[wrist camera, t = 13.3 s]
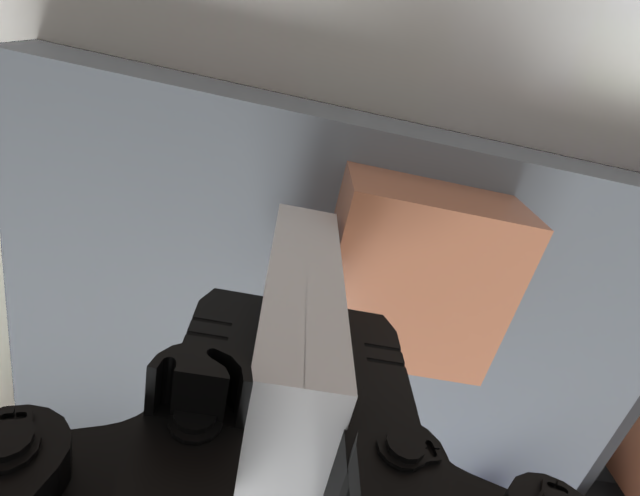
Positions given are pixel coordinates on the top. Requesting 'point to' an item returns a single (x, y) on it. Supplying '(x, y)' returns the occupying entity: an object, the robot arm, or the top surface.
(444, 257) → the tile
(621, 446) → the tile
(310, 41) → the top surface
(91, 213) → the board
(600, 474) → the box
